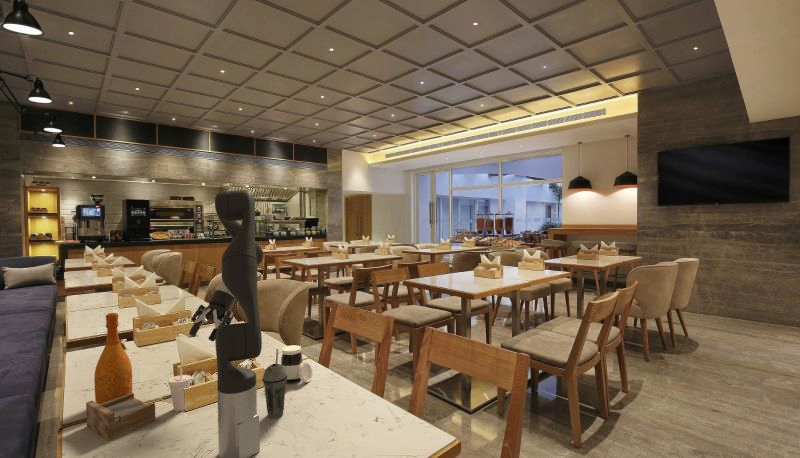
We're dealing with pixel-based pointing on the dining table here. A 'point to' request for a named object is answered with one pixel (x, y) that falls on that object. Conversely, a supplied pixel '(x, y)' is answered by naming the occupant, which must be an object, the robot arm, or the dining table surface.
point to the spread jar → (295, 365)
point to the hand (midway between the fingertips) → (201, 338)
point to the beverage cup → (275, 388)
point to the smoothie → (179, 390)
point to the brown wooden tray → (119, 416)
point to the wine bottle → (112, 366)
